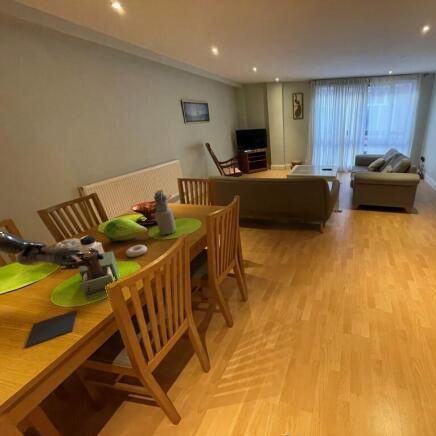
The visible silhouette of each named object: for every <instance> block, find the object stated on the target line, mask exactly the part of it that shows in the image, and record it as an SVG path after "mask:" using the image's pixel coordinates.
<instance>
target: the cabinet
mask: <svg viewBox="0 0 436 436" xmlns="http://www.w3.org/2000/svg"><path fill="white" fill-rule="evenodd" d="M102 255H103V257H104V259H102V260H99V262H100V265H101V268H103V267H107V266H110V265H111V268H112V271H113V274H114V277H115V279H116V280H118V281H119V266H118V262H117V260H116V257H115V253H114V251H113V250H110V251H106V252H104V253H102ZM84 272H88V269H87V267H86V266H82V267H80V266H79V271H78V273H79V275H80V277H81V280H82V281H83V277H84ZM116 280H114V281H116ZM116 282H117V281H116Z"/></svg>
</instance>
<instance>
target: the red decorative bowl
mask: <svg viewBox="0 0 436 436" xmlns="http://www.w3.org/2000/svg"><path fill="white" fill-rule="evenodd" d="M171 197H172V196H171V195H169V196H168V197H167V201H169V200H170V198H171ZM155 205H156V202H155V200H150V201H145V202H140V203H137V204H134V205H132V206H131V208H130V210H132V211H133V212H134V213H137V214H140V215H142V216H139V217H138V218H136V221H134V222H135V223H137V224H139V225H149V224H154V223H157V219H156V215H155V213H156V210H155ZM156 209H157V206H156ZM145 218H147V219H146V220H145V221H142V220H143V219H145Z"/></svg>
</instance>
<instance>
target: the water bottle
mask: <svg viewBox="0 0 436 436" xmlns="http://www.w3.org/2000/svg"><path fill="white" fill-rule="evenodd" d="M167 198H168V197H167V194H164V190H163V189H159V190H156V191H155V193H154V197H153V199H154V201H155V202H156V205H155V210H156V213H155V215H156V219H157V222H156V223H157V227H158V231H159V234H160V235H162V236H166V235H165V234H169V233H172V232H174V231H175V230H176V231H177V228H176V223H175V219H174V218H175V217H174V214H173V210H172V209H171V208H170V207H169V204H168V200H167ZM156 206H157V209H156ZM176 231H175V232H176ZM175 232H174V233H175ZM172 234H173V233H172ZM169 235H170V234H169Z"/></svg>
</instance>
